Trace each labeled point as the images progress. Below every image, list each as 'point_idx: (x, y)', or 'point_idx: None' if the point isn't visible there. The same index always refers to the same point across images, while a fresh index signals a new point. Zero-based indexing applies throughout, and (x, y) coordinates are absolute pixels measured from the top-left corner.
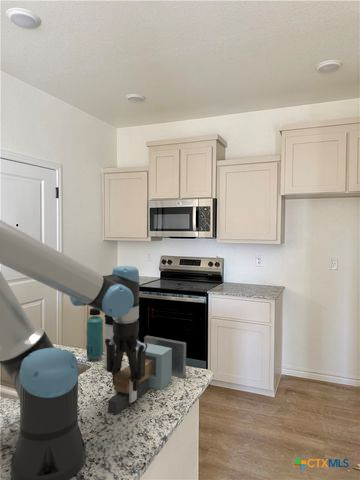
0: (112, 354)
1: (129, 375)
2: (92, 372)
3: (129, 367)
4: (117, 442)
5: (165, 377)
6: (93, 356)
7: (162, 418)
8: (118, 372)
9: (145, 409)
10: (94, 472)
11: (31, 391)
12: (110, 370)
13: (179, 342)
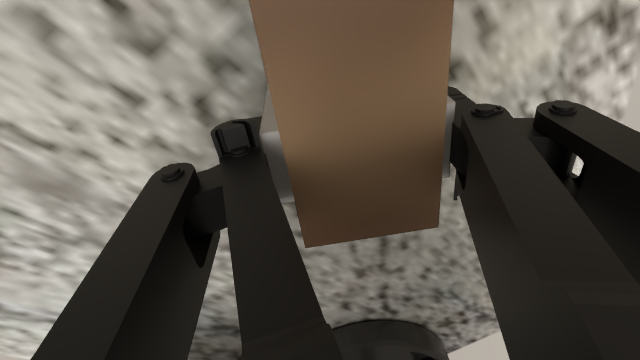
0: (158, 356)
1: (431, 188)
2: None
3: (304, 52)
4: (468, 261)
5: None
6: None
7: (576, 67)
8: (302, 205)
9: (460, 55)
10: (476, 335)
11: None
12: (218, 231)
13: None
